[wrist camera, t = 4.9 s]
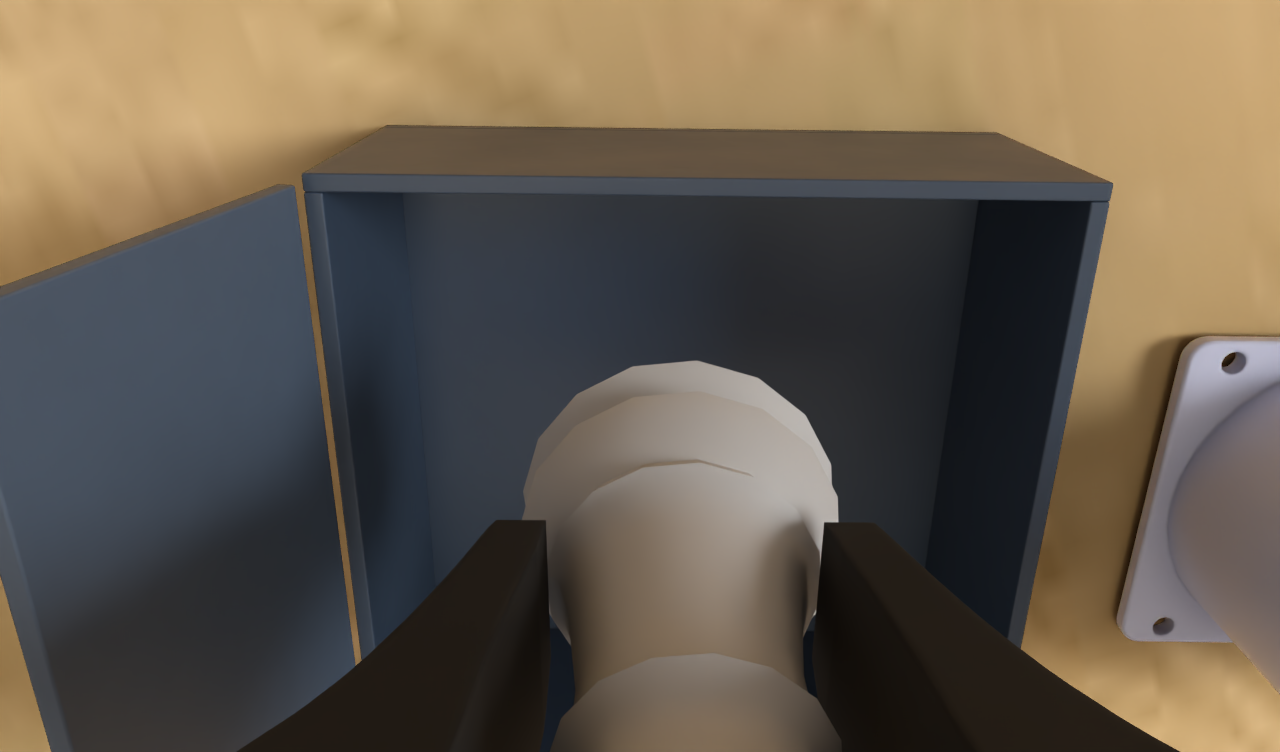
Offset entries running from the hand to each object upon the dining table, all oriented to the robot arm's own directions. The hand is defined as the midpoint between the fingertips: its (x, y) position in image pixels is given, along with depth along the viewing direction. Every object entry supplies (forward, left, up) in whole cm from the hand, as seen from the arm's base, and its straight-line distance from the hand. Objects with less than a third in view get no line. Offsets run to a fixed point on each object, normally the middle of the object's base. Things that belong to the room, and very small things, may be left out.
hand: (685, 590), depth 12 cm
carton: (0, +2, -10) cm, 11 cm away
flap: (+6, +2, -1) cm, 7 cm away
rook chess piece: (0, 0, -3) cm, 3 cm away
